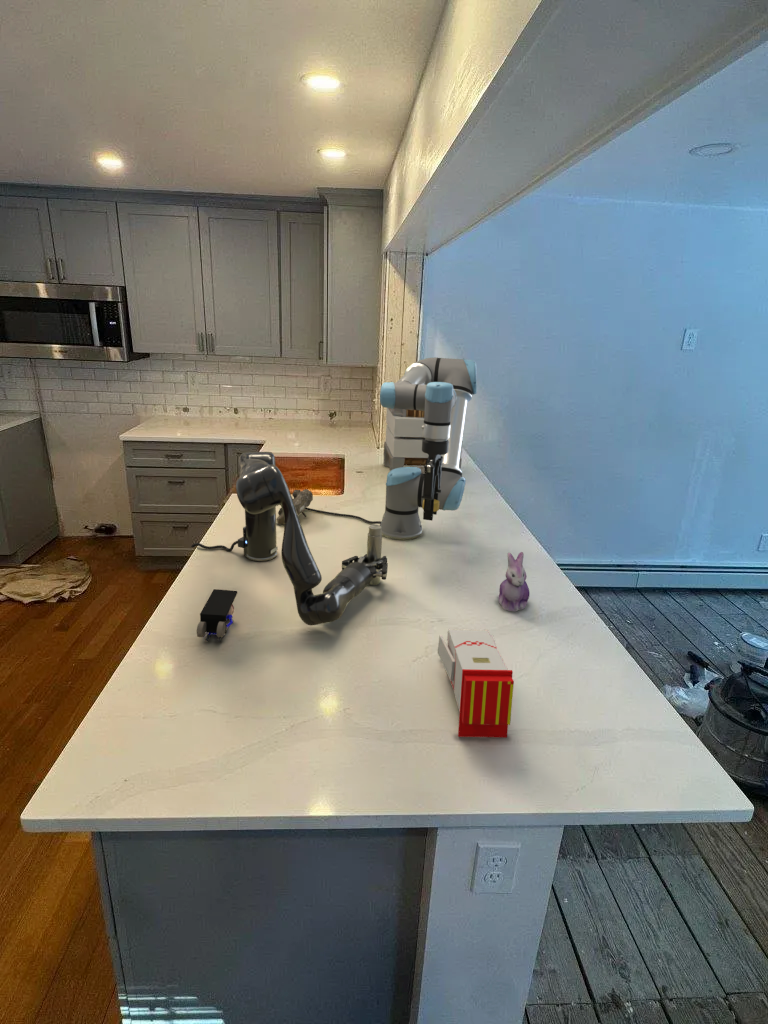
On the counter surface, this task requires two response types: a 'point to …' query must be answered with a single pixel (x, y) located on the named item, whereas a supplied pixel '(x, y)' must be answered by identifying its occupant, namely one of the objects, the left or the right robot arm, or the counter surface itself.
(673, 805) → the counter surface
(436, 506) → the lid
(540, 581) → the counter surface
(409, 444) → the white storage crate
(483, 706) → the toy
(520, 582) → the figurine
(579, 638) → the counter surface
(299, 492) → the fossil
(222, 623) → the black wheeled vehicle
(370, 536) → the jar
